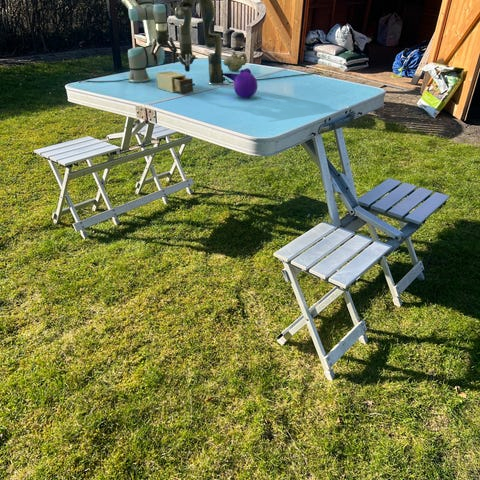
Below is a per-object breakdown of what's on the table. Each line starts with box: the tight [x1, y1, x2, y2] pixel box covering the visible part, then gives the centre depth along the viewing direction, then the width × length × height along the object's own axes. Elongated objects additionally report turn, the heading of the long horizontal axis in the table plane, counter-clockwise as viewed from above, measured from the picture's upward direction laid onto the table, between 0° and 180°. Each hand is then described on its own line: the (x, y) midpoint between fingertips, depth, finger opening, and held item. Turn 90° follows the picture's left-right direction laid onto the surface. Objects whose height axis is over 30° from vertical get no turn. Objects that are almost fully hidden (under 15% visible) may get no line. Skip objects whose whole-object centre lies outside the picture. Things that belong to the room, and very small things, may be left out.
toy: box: [222, 67, 258, 99], centre depth 286 cm, size 16×18×27 cm
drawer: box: [173, 76, 196, 94], centre depth 301 cm, size 24×10×8 cm, turn 38°
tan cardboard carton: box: [156, 70, 187, 93], centre depth 310 cm, size 20×11×10 cm, turn 38°
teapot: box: [222, 51, 248, 73], centre depth 364 cm, size 21×12×15 cm, turn 120°
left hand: (165, 64), depth 309 cm, fingers open, 13 cm apart
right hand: (187, 71), depth 290 cm, fingers closed
